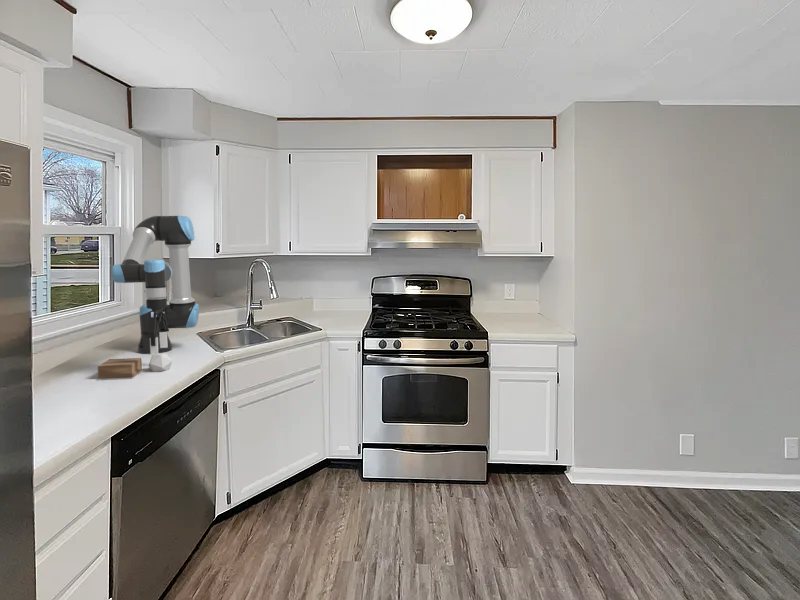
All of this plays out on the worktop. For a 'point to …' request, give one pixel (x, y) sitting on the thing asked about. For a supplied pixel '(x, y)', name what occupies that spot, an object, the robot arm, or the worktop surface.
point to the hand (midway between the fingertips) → (159, 350)
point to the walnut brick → (120, 368)
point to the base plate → (119, 378)
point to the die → (160, 362)
